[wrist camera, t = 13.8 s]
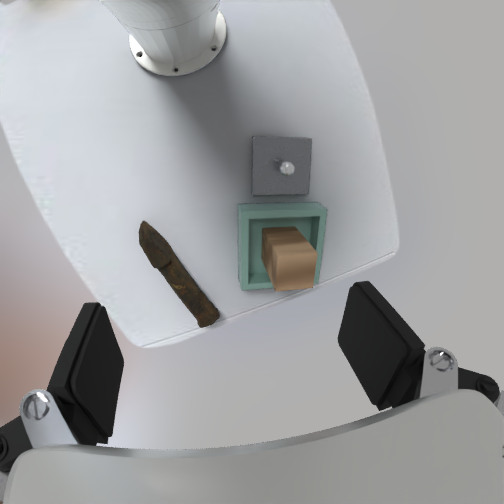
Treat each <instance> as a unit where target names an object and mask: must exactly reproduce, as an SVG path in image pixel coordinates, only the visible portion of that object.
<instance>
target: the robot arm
mask: <svg viewBox="0 0 504 504" xmlns="http://www.w3.org/2000/svg"><path fill="white" fill-rule="evenodd" d="M99 1H100V2H102V3H103V4H104V5H105V6H106V7H107V8H108V9H109V10H110V11H111V12H112V13H113V15H114V16H115V17H116V18H117V19H118V21H119V22H120V23H121V24H122V25H123V26H124V28H125V29H126V30H127V31H128V32H129V33H130V38H129V41H130V49H131V52H132V54H133V56H134V58H135V60H136V61H137V62H138V63H139V64H140V65H141V66H142V67H144V68H145V69H147V70H148V71H150V72H152V73H155V74H159V75H164V76H180V75H185V74H189V73H192V72H195V71H197V70H199V69H201V68H203V67H204V66H206V65H207V64H208V63H210V62H211V61H212V60H213V59H214V58H215V57H216V56H217V55H218V53H219V52H220V50H221V48H222V46H223V44H224V41H225V37H226V22H225V19H224V17H223V15H222V13H221V11H220V10H219V9H218V8H219V2H220V0H99ZM213 48H214V49H216V50H215V51H212V49H213ZM140 54H142V56H141V57H139V55H140ZM175 69H178V71H177V72H175V71H174V70H175ZM338 343H339V346H340V348H341V349H342V351H343V353H344V355H345V356H346V358H347V360H348V362H349V363H350V365H351V367H352V369H353V371H354V372H355V374H356V376H357V378H358V379H359V381H360V383H361V385H362V387H363V388H364V390H365V392H366V394H367V396H368V397H369V399H370V401H371V403H372V404H373V405H376V406H377V408H378V410H379V411H380V410H384V409H386V408H389V407H391V406H392V408H393V409H390V410H387V411H384V412H381V413H379V414H376V415H373V416H370V417H367V418H364V419H361V420H358V421H354V422H351V423H348V424H344V425H341V426H338V427H334V428H330V429H326V430H322V431H318V432H314V433H309V434H305V435H301V436H296V437H291V438H286V439H281V440H275V441H269V442H262V443H256V444H248V445H240V446H231V447H220V448H208V449H207V448H206V449H184V450H153V449H128V448H113V447H102V446H96V444H97V443H102V444H108V437H111V436H112V434H113V426H114V420H115V412H116V406H117V400H118V393H119V388H120V383H121V377H122V372H123V367H124V359H123V356H122V353H121V350H120V348H119V346H118V343H117V340H116V337H115V334H114V332H113V329H112V326H111V323H110V320H109V317H108V314H107V311H106V308H105V307H104V306H101V304H100V303H98V302H96V303H85V304H84V305H83V307H82V309H81V311H80V313H79V315H78V317H77V319H76V322H75V324H74V326H73V328H72V330H71V332H70V335H69V337H68V339H67V340H66V342H65V344H64V347H63V349H62V351H61V354H60V356H59V359H58V361H57V364H56V366H55V369H54V372H53V374H52V377H51V379H50V382H49V385H48V387H47V390H42V389H37V390H33V391H31V392H29V393H28V394H26V395H25V396H24V398H23V399H22V401H21V403H20V408H19V410H20V416H18V417H17V418H15V419H14V420H12V421H10V422H9V423H7V424H5V425H4V426H2V427H1V428H0V504H504V391H501V392H500V391H499V387H498V385H497V383H496V382H495V381H494V380H493V379H492V378H491V377H489V376H486V375H483V374H479V373H476V372H473V371H469V370H465V369H462V368H459V367H458V364H457V360H456V358H455V356H454V355H453V354H452V353H451V352H450V351H448V350H446V349H444V348H440V347H434V348H431V349H428V351H427V352H426V351H425V350H424V347H425V345H424V343H423V342H422V341H421V340H420V338H419V337H418V336H417V335H416V334H415V332H414V331H413V330H412V329H411V328H410V327H409V325H408V324H407V323H406V322H405V321H404V320H403V318H401V316H400V315H399V314H398V313H397V312H396V311H395V309H394V308H393V307H392V306H391V305H390V304H389V303H388V301H387V300H386V299H385V298H384V297H383V296H382V295H381V294H380V293H379V292H378V290H377V289H376V288H375V287H374V286H373V285H372V284H371V283H370V282H369V281H363V282H356V283H354V284H353V286H352V287H350V289H349V293H348V298H347V302H346V307H345V311H344V315H343V319H342V323H341V327H340V331H339V335H338Z"/></svg>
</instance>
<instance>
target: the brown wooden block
mask: <svg viewBox="0 0 504 504" xmlns="http://www.w3.org/2000/svg"><path fill="white" fill-rule="evenodd" d="M317 254H318V253H317V252H316V250H315V249H314V248H313V247H312V246H311V244H310V243H309V242H308V241H307V240H306V238H305V237H304V236H303V235H302V234H301V232H300V231H299V230H298V229H297V228H296V227H295V226H291V227H268V228H262V251H261V259H262V262H263V264H264V266H265V268H266V271H267V273H268V275H269V278H270V280H271V282H272V285H273V287H274V289H275V292H276V291H286V290H296V289H306V288H313V283H314V276H315V269H316V262H317Z"/></svg>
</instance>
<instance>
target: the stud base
mask: <svg viewBox="0 0 504 504" xmlns="http://www.w3.org/2000/svg"><path fill="white" fill-rule="evenodd" d="M311 143H312V139H310V138H294V137H253V141H252V194H253V195H282V194H309V179H310V163H311Z"/></svg>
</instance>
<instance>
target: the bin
mask: <svg viewBox="0 0 504 504" xmlns="http://www.w3.org/2000/svg"><path fill="white" fill-rule="evenodd" d="M326 216H327V209H326V208H325V207H324V206H322V205H321V204H320V203H318V202H292V203H257V204H238V279H239V282H240V286H241V290H253V289H264V288H274V287H273V285H272V282H271V280H270V278H269V275H268V273H267V271H266V268H265V266H264V264H263V262H262V259H261V251H262V228H268V227H291V226H295V227H296V228H297V229H298V230H299V231H300V232H301V234H302V235H303V236H304V237H305V238H306V240H307V241H308V242H309V243H310V244H311V246H312V247H313V248H314V249H315V250H316V252H317V253H318V254H317V262H316V269H315V276H314V283H313V284H315V283H318V280H319V273H320V266H321V258H322V251H323V243H324V234H325V225H326Z"/></svg>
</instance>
